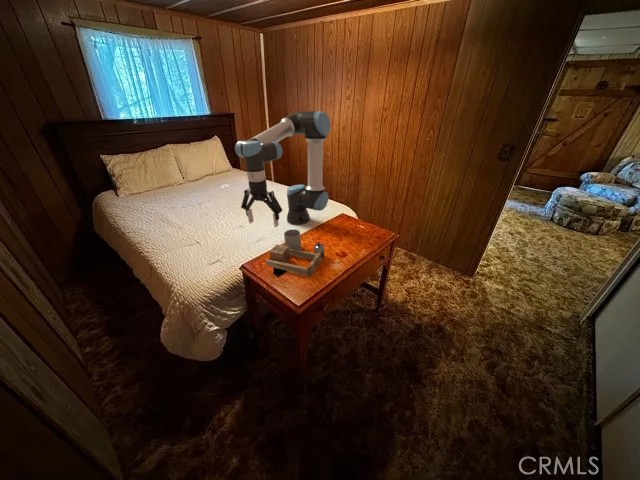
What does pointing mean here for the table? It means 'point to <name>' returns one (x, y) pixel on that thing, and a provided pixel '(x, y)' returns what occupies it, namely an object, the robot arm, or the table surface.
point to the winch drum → (319, 248)
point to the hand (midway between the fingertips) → (263, 224)
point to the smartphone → (278, 272)
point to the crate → (280, 253)
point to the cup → (292, 239)
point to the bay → (298, 269)
